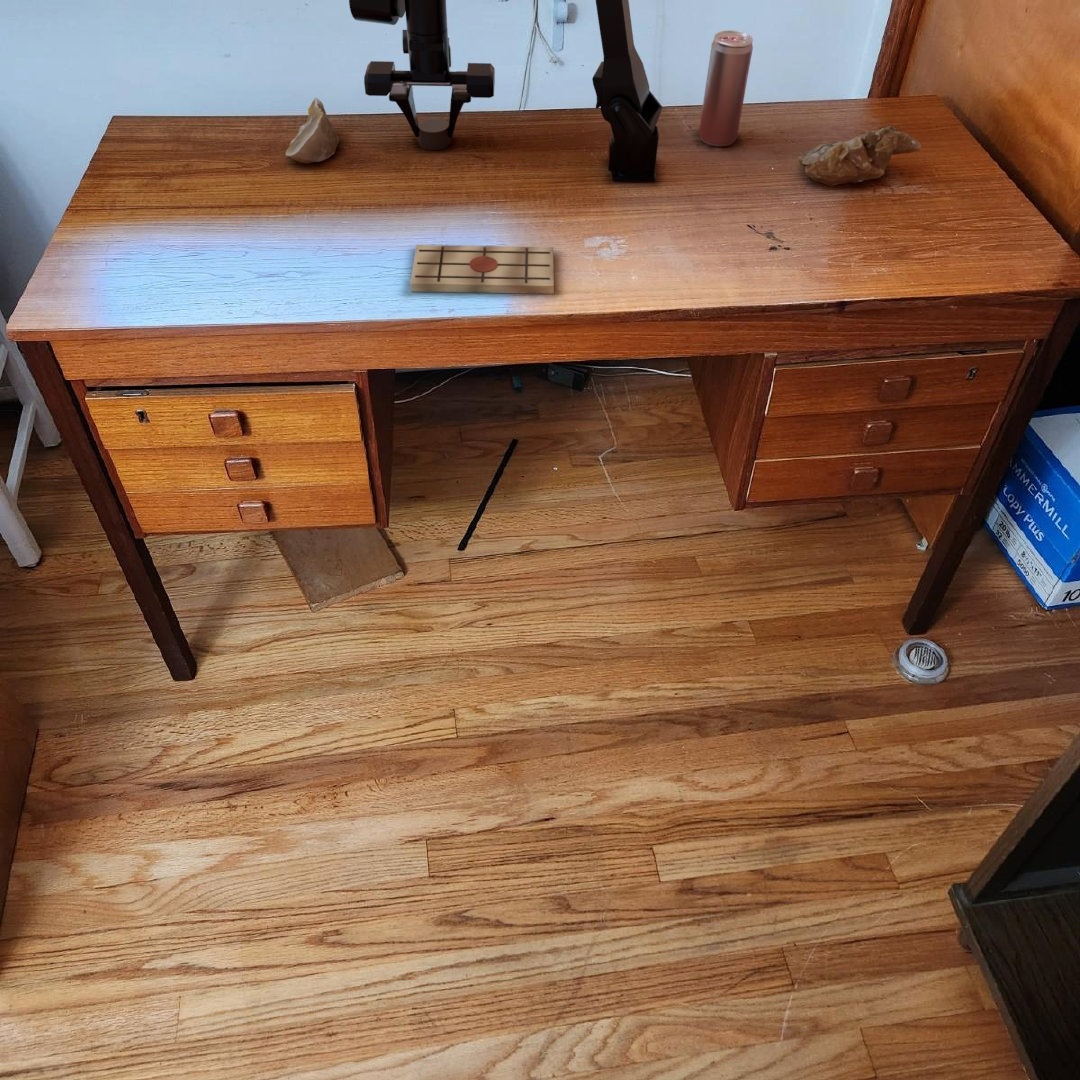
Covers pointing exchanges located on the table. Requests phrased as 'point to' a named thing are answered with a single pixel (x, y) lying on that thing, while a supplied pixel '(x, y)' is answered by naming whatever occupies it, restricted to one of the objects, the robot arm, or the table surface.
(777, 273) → the table surface
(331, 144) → the stone
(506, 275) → the board
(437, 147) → the dark brown cylinder
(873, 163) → the mineral specimen
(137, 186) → the table surface
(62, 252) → the table surface
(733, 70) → the beverage can
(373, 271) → the table surface
